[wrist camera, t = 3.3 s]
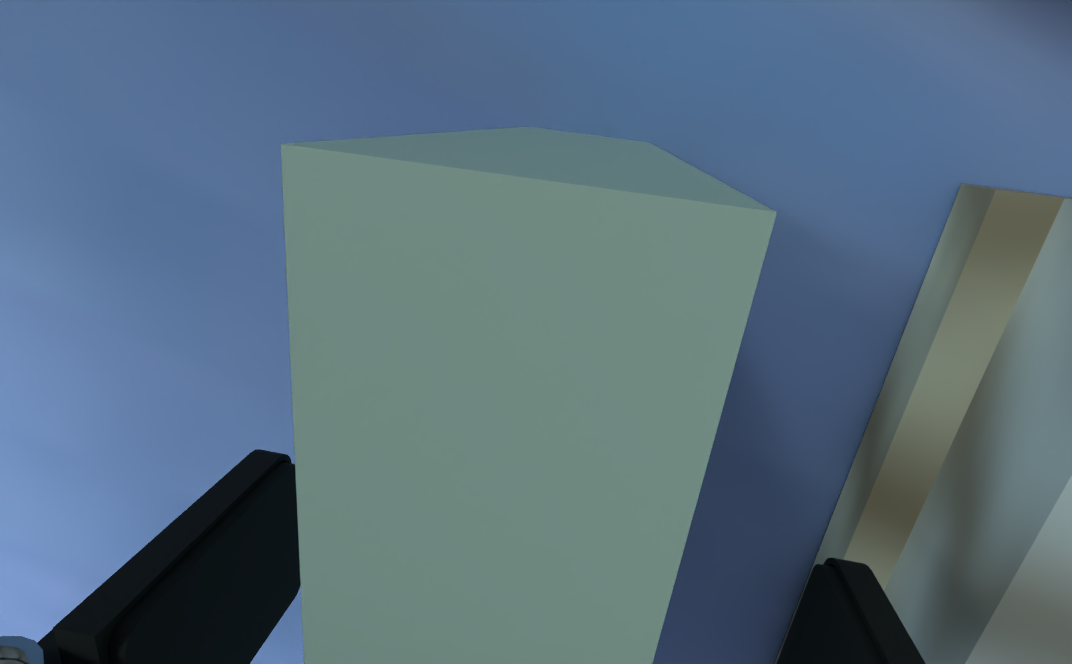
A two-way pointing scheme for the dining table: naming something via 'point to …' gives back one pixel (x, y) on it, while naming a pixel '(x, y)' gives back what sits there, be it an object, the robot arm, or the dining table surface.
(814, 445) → the dining table surface
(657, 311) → the door panel
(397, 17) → the dining table surface
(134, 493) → the dining table surface
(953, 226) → the door track
